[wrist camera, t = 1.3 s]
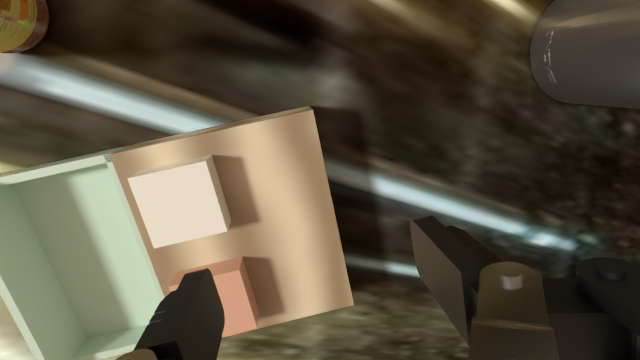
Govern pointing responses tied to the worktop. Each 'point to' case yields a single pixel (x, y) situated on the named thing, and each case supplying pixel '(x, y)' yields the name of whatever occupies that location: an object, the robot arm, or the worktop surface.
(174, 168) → the white tile
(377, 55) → the worktop surface
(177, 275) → the terracotta tile
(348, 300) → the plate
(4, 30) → the sauce bottle
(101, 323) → the box
